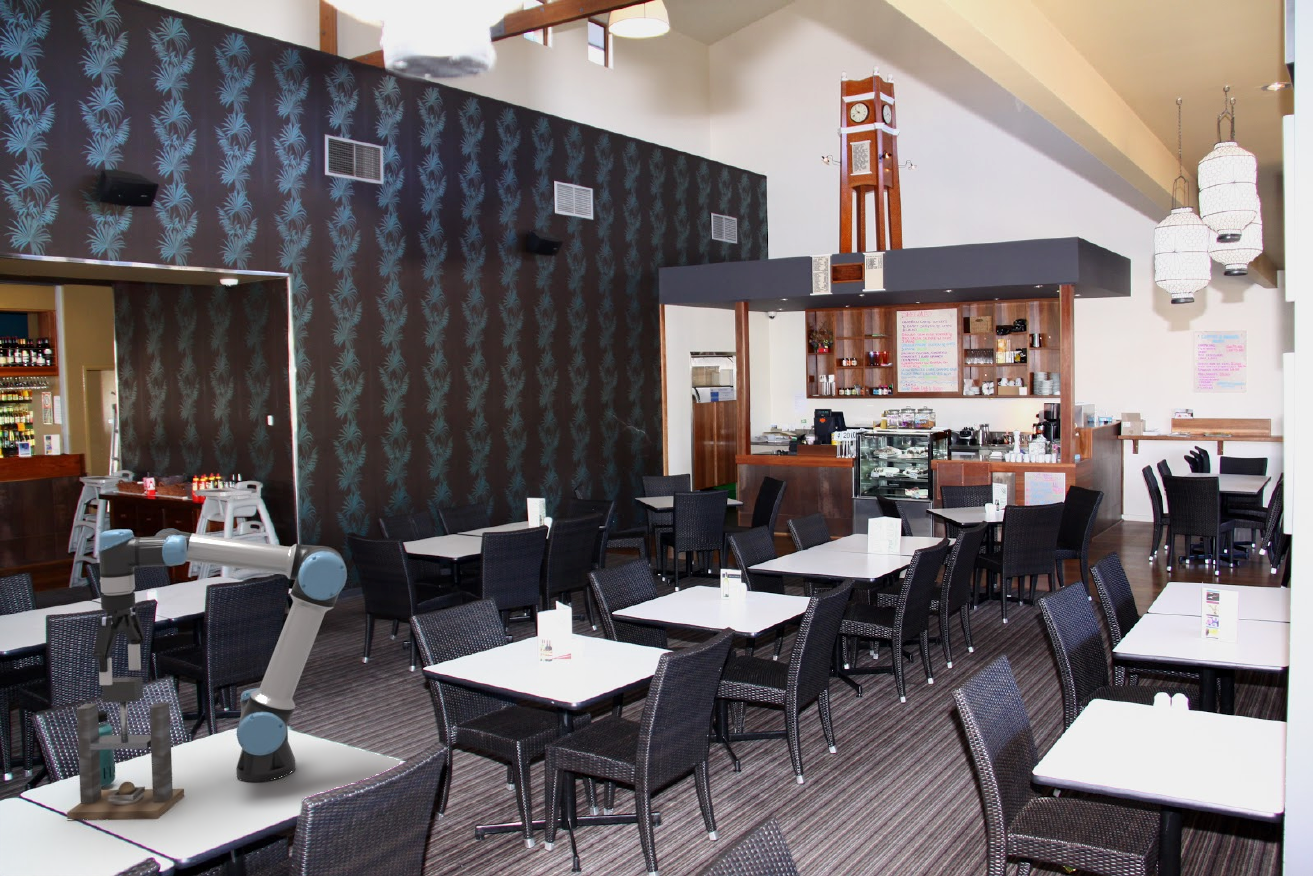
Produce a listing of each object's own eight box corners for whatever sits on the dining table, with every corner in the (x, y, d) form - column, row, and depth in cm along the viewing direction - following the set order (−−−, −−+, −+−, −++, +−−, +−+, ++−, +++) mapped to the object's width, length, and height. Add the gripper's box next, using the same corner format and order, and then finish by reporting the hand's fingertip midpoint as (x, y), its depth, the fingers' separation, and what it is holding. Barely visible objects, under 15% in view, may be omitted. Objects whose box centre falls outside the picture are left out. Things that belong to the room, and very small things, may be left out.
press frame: (184, 796, 261) (180, 696, 260) (157, 818, 247) (153, 713, 246) (98, 797, 261) (94, 697, 260) (67, 820, 247) (62, 715, 246)
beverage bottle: (103, 793, 264) (100, 717, 263) (81, 791, 265) (78, 716, 264) (121, 783, 270) (118, 709, 269) (100, 782, 272) (97, 708, 271)
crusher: (158, 740, 256) (156, 675, 255) (146, 748, 250) (144, 682, 249) (103, 741, 256) (100, 676, 255) (90, 749, 250) (87, 683, 249)
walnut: (137, 793, 255) (137, 779, 255) (130, 799, 252) (129, 784, 252) (123, 793, 255) (123, 779, 255) (116, 799, 252) (115, 785, 252)
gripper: (128, 583, 264) (131, 664, 265) (74, 602, 239) (77, 691, 240) (157, 583, 264) (160, 663, 265) (105, 602, 239) (108, 691, 240)
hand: (120, 677), depth 252 cm, fingers open, 13 cm apart
